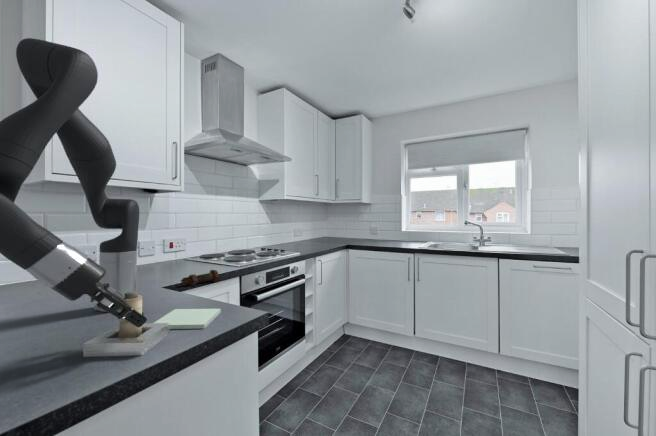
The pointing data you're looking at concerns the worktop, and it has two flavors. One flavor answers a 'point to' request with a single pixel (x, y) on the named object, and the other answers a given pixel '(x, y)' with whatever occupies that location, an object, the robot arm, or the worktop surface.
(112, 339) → the grey square frame
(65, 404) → the worktop surface
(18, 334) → the worktop surface
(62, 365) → the worktop surface
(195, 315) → the set down board
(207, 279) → the bolt
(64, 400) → the worktop surface
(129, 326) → the key peg
